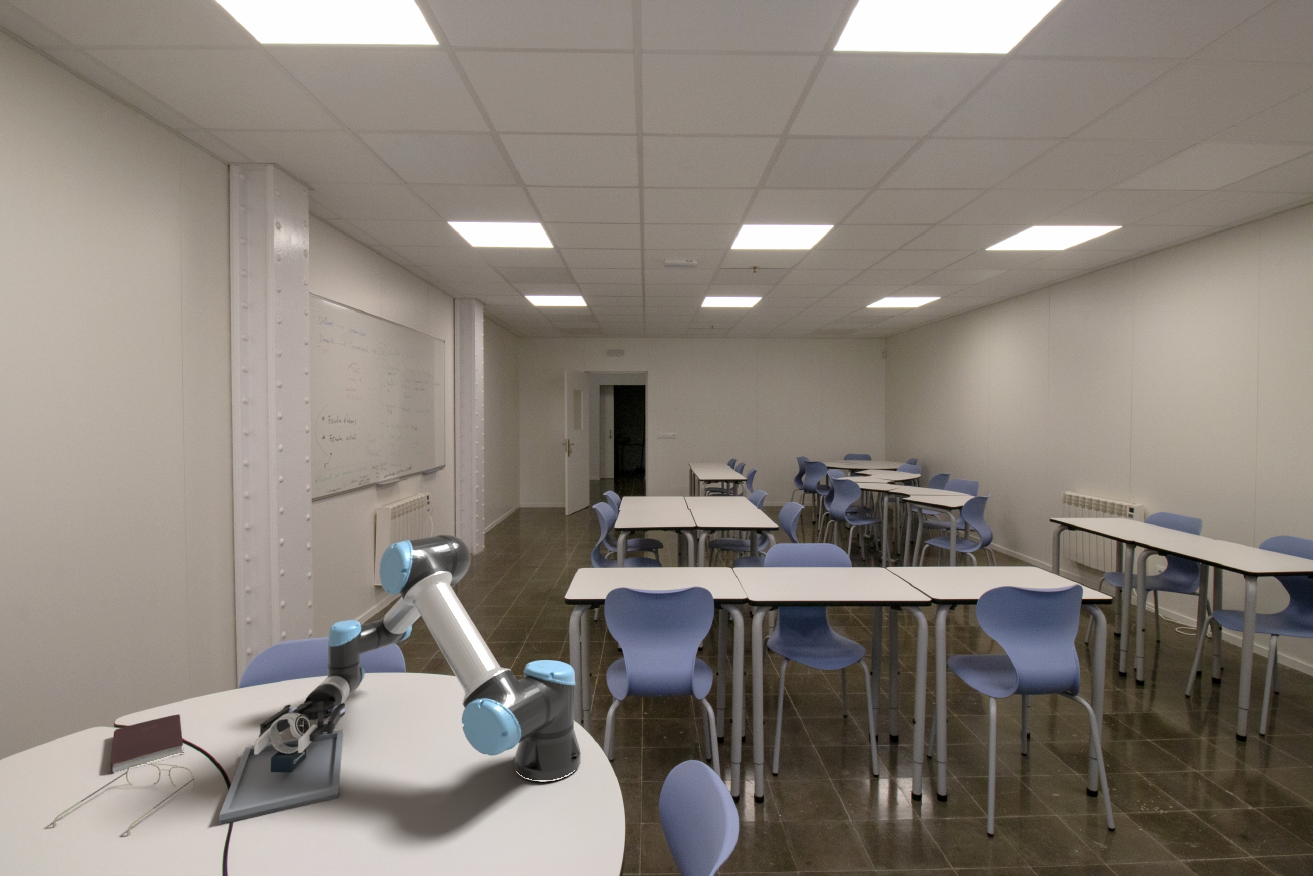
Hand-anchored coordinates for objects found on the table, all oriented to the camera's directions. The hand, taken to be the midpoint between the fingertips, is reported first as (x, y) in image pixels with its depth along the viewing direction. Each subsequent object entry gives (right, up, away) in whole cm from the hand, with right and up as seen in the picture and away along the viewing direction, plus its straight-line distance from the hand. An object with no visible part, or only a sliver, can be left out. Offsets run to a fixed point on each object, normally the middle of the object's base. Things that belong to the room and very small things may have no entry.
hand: (278, 747), depth 121 cm
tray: (-1, -9, +5) cm, 10 cm away
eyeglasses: (-25, -9, -7) cm, 28 cm away
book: (-41, -9, +15) cm, 45 cm away
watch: (-1, -7, +5) cm, 8 cm away
